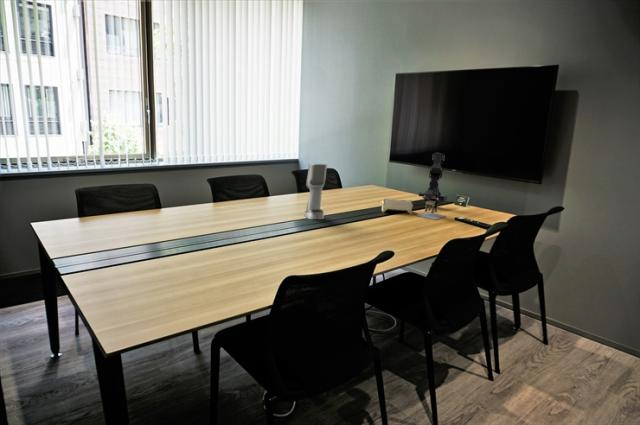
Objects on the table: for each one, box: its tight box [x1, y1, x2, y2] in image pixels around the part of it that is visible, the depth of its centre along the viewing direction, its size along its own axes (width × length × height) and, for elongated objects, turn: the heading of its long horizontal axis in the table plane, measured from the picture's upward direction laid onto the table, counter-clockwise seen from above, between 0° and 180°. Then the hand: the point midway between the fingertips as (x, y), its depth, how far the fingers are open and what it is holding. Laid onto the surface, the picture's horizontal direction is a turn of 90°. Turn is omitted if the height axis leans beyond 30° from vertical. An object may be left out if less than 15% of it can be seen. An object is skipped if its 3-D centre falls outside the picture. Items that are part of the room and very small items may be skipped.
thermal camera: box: [303, 163, 328, 221], centre depth 265 cm, size 12×13×35 cm
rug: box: [415, 211, 446, 221], centre depth 288 cm, size 16×14×1 cm
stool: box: [424, 200, 439, 213], centre depth 287 cm, size 6×6×7 cm
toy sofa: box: [381, 197, 414, 215], centre depth 293 cm, size 21×9×10 cm, turn 87°
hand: (431, 208), depth 288 cm, fingers closed on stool, 6 cm apart
